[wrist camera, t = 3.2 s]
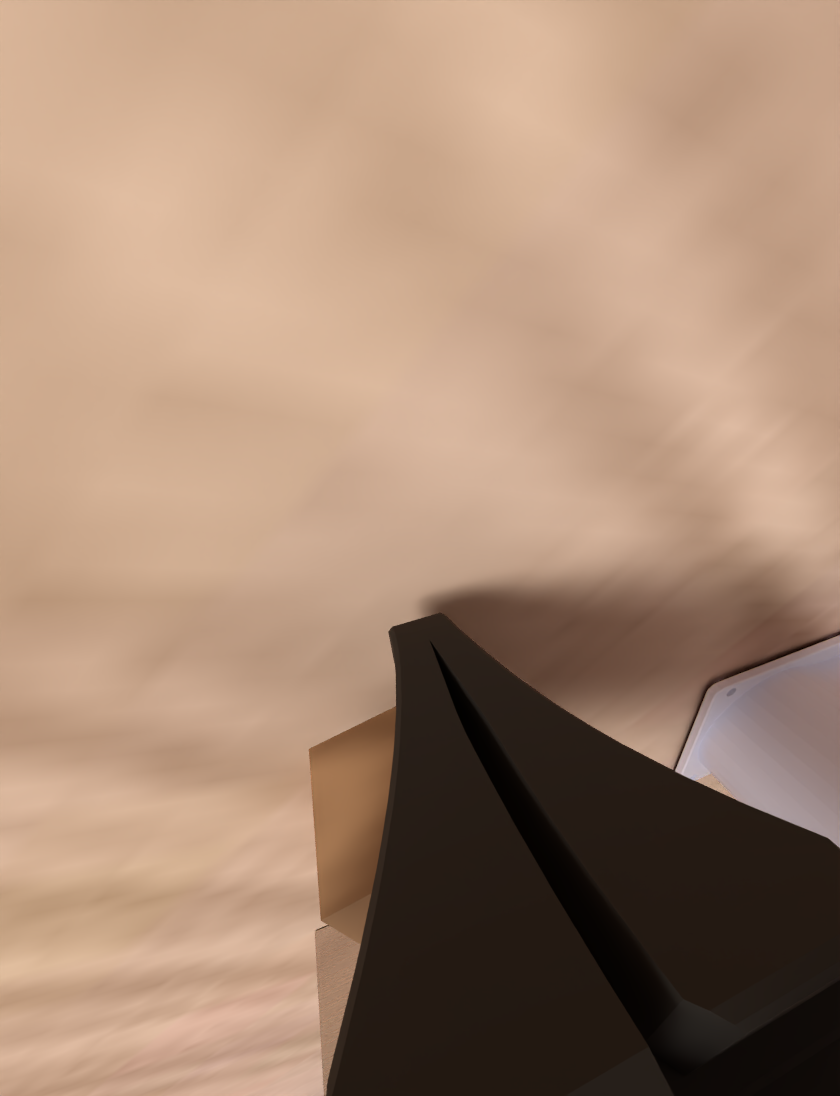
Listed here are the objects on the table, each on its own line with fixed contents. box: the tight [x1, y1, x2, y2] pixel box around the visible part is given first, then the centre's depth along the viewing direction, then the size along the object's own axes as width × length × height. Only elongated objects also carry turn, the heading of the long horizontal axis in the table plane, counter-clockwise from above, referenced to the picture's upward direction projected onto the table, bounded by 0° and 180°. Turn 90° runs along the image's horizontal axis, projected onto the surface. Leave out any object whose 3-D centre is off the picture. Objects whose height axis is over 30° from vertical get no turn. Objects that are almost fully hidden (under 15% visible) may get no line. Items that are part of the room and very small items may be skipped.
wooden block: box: [309, 707, 396, 945], centre depth 15 cm, size 4×14×5 cm, turn 19°
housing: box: [315, 926, 361, 1096], centre depth 17 cm, size 13×3×7 cm, turn 97°
